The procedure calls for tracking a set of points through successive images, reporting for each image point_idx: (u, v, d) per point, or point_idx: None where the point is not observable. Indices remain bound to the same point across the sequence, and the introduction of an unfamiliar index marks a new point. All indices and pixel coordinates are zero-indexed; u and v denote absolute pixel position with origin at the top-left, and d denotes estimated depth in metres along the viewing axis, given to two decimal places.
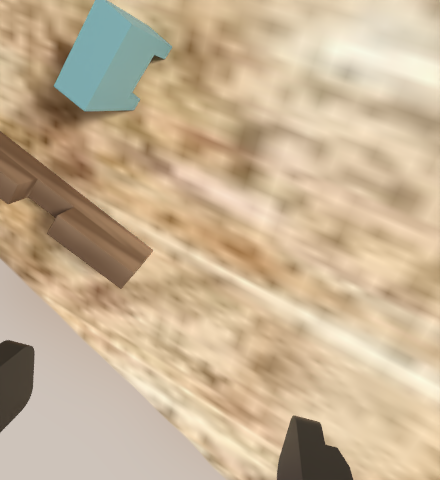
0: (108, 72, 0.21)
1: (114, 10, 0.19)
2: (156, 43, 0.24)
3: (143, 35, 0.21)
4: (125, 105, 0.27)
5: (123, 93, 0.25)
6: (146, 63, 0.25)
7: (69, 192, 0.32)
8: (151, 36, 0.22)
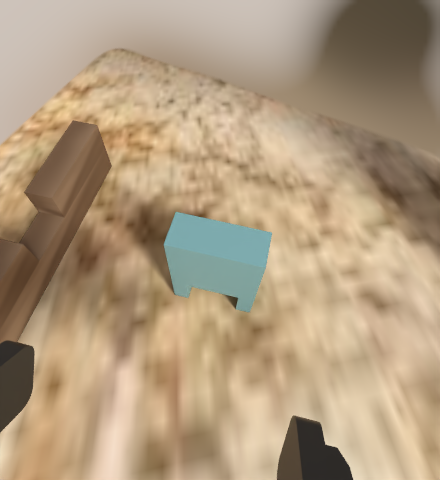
0: (212, 258, 0.19)
1: (267, 249, 0.19)
2: (250, 296, 0.23)
3: (256, 282, 0.21)
4: (178, 284, 0.24)
5: (191, 279, 0.23)
6: (228, 293, 0.23)
7: (57, 252, 0.26)
8: (256, 289, 0.22)
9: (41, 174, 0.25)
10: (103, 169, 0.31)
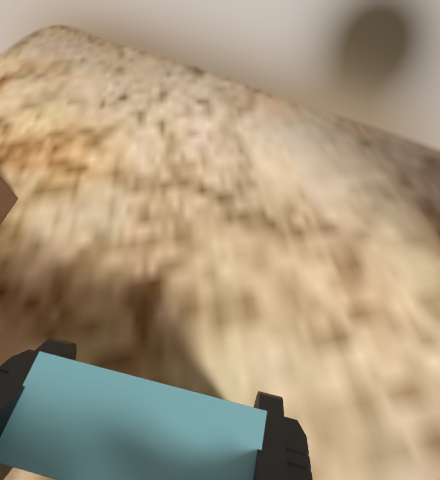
0: None
1: None
2: None
3: None
4: None
5: None
6: None
7: None
8: None
9: None
10: None
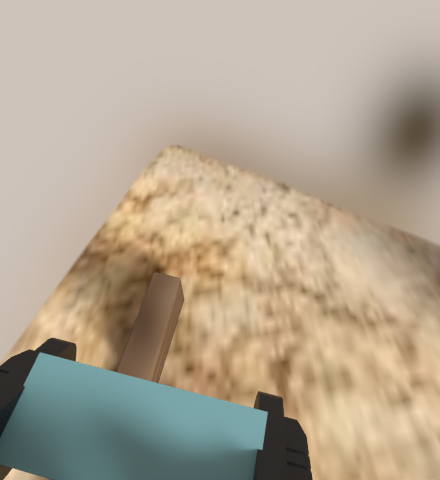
0: None
1: None
2: None
3: None
4: None
5: None
6: None
7: None
8: None
9: (131, 348, 0.24)
10: (179, 309, 0.30)
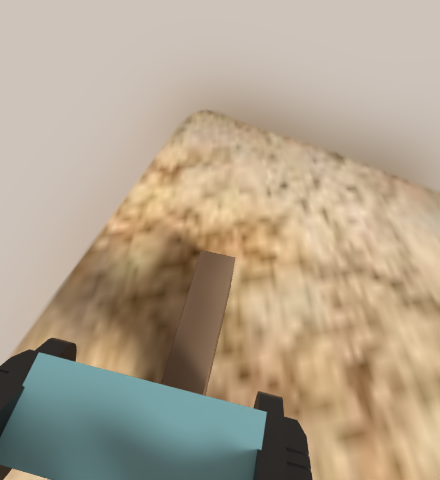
0: None
1: None
2: None
3: None
4: None
5: None
6: None
7: None
8: None
9: (178, 349, 0.18)
10: (227, 299, 0.24)
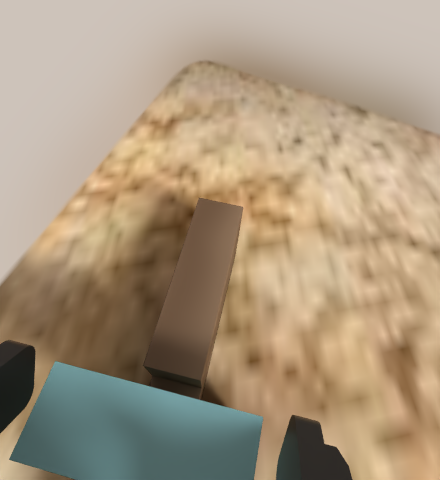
0: None
1: (252, 468, 0.08)
2: None
3: None
4: None
5: None
6: None
7: None
8: None
9: (168, 320, 0.13)
10: (231, 267, 0.19)
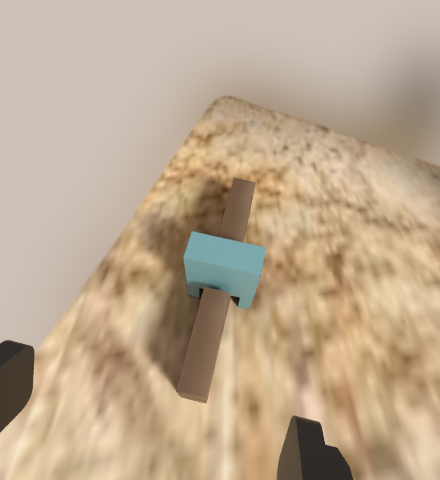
0: (220, 267, 0.25)
1: (262, 260, 0.25)
2: (250, 296, 0.29)
3: (254, 285, 0.27)
4: (192, 286, 0.30)
5: (202, 283, 0.29)
6: (232, 294, 0.29)
7: None
8: (254, 291, 0.28)
9: (224, 229, 0.30)
10: None
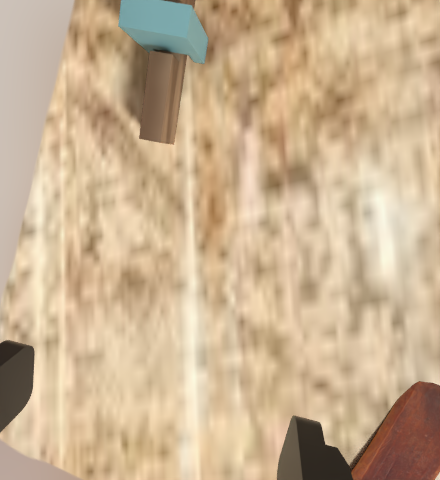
0: (152, 33, 0.28)
1: (188, 21, 0.27)
2: (195, 54, 0.32)
3: (190, 45, 0.30)
4: (147, 48, 0.34)
5: (151, 45, 0.32)
6: (180, 52, 0.33)
7: None
8: (194, 50, 0.31)
9: None
10: None
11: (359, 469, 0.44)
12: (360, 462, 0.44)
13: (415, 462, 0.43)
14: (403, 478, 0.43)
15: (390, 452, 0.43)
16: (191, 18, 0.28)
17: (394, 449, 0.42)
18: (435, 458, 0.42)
